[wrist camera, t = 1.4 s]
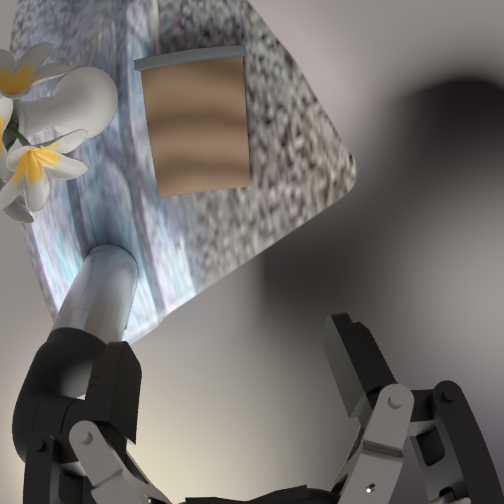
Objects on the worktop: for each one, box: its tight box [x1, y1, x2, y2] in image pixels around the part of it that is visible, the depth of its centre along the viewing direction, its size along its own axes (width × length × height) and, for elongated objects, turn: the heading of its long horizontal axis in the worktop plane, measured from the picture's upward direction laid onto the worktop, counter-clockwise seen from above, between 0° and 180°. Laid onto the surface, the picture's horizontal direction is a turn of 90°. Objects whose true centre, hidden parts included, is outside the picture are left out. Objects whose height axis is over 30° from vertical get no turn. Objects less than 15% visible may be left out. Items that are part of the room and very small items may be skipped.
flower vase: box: [0, 42, 118, 224], centre depth 18 cm, size 13×18×25 cm
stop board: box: [134, 45, 251, 197], centre depth 31 cm, size 18×12×4 cm, turn 3°
